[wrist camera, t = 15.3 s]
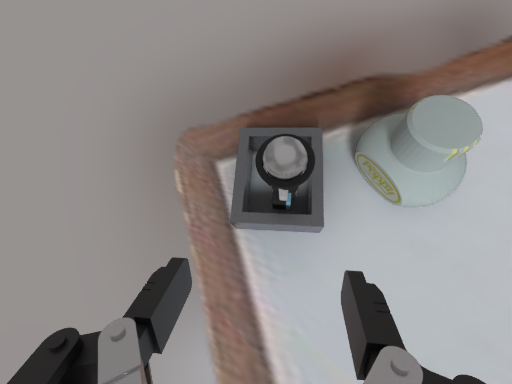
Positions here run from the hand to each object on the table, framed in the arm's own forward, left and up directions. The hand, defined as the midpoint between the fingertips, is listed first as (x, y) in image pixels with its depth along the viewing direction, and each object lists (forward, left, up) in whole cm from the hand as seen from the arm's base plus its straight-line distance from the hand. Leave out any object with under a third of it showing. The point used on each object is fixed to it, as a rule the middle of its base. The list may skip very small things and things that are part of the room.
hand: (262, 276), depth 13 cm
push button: (-1, -11, -16) cm, 19 cm away
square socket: (0, -11, -16) cm, 19 cm away
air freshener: (-14, -13, -16) cm, 25 cm away
